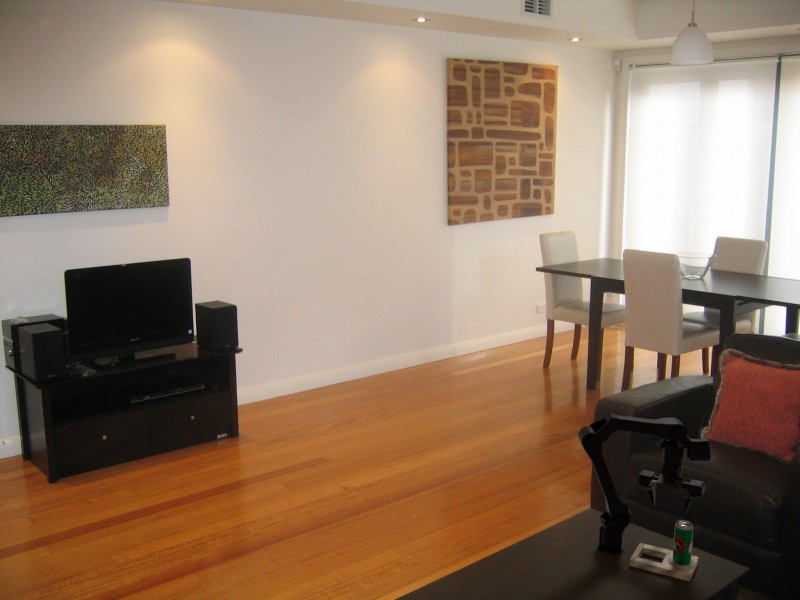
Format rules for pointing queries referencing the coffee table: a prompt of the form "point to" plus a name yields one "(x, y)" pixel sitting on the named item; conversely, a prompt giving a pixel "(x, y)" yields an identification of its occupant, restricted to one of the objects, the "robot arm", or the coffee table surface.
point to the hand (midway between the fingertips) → (669, 509)
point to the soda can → (683, 542)
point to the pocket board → (667, 564)
